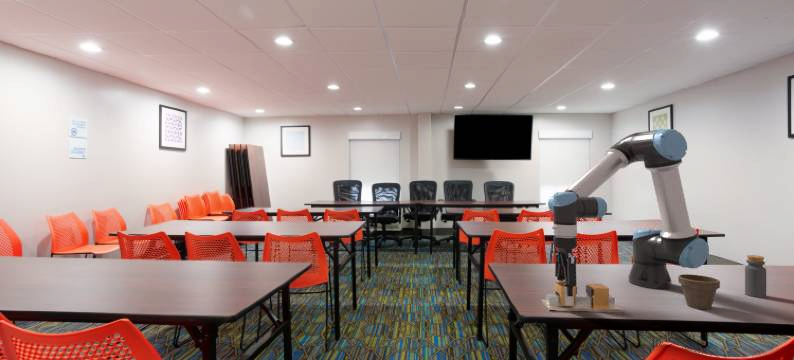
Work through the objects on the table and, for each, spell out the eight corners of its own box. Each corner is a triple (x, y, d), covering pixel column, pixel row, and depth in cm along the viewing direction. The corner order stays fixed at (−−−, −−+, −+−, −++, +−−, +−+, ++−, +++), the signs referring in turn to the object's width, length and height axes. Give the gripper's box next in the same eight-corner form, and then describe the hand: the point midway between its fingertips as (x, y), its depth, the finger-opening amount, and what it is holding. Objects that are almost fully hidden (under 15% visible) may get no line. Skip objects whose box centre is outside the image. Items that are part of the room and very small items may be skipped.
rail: (608, 303, 134) (608, 282, 134) (622, 312, 125) (622, 290, 125) (540, 302, 135) (540, 281, 135) (549, 311, 126) (549, 289, 126)
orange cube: (571, 300, 133) (571, 282, 133) (577, 305, 127) (577, 286, 127) (555, 299, 133) (555, 281, 133) (561, 305, 128) (560, 286, 128)
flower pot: (686, 298, 138) (685, 271, 138) (725, 307, 128) (725, 278, 128) (672, 304, 131) (672, 276, 131) (712, 314, 122) (712, 284, 122)
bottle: (760, 293, 142) (760, 255, 142) (770, 298, 137) (770, 258, 137) (741, 292, 144) (741, 254, 144) (750, 297, 139) (750, 257, 139)
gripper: (545, 232, 140) (545, 293, 140) (564, 240, 121) (564, 311, 121) (565, 232, 139) (566, 293, 140) (587, 240, 121) (588, 311, 121)
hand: (565, 301), depth 130 cm, fingers closed on orange cube, 6 cm apart
